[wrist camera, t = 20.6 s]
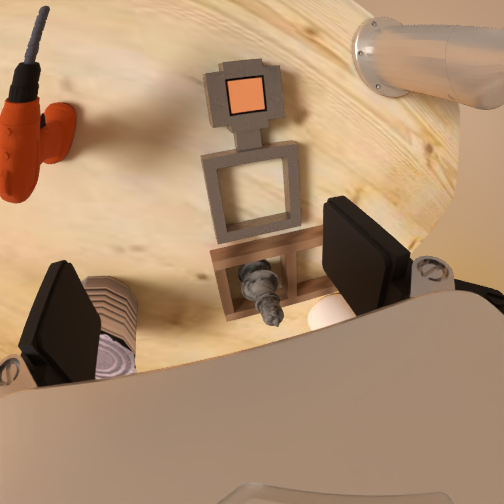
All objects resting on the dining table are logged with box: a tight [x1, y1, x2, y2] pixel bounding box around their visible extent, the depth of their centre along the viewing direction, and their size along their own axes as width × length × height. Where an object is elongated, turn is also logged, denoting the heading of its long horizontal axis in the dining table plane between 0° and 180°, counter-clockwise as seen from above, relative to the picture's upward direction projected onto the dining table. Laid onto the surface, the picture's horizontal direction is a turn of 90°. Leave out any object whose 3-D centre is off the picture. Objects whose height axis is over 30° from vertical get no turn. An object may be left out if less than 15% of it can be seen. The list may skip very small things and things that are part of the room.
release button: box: [225, 78, 265, 113], centre depth 31 cm, size 4×4×3 cm
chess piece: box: [238, 259, 284, 327], centre depth 43 cm, size 6×6×12 cm
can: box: [81, 276, 137, 379], centre depth 39 cm, size 11×11×12 cm
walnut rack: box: [210, 225, 338, 322], centre depth 47 cm, size 22×12×3 cm, turn 96°
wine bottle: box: [308, 294, 356, 331], centre depth 46 cm, size 10×10×30 cm
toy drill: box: [0, 6, 76, 203], centre depth 21 cm, size 5×19×15 cm, turn 158°
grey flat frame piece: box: [201, 59, 301, 244], centre depth 36 cm, size 12×23×3 cm, turn 6°
